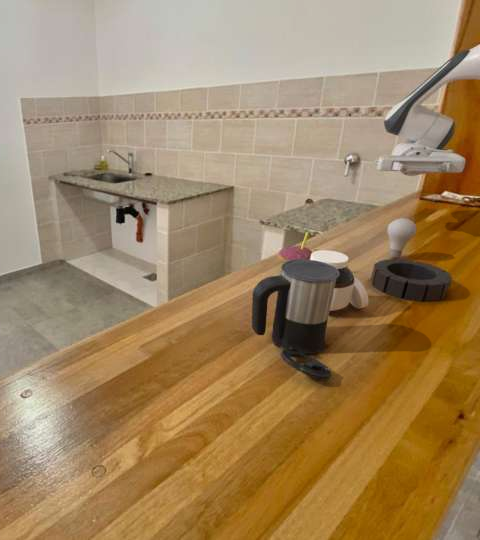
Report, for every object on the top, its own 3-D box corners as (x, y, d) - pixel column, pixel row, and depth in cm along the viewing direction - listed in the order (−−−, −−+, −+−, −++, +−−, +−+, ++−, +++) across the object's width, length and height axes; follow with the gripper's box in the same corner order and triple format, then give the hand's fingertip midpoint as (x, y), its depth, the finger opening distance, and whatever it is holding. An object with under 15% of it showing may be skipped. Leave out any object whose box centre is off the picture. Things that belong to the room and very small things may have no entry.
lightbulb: (385, 262, 101) (395, 222, 96) (377, 253, 106) (386, 215, 101) (412, 263, 99) (423, 222, 95) (402, 254, 104) (412, 215, 100)
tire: (436, 278, 91) (441, 263, 89) (453, 306, 79) (459, 288, 78) (368, 270, 96) (371, 256, 95) (374, 295, 85) (378, 279, 83)
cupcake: (313, 269, 99) (321, 225, 94) (310, 282, 92) (317, 236, 87) (278, 264, 103) (284, 221, 98) (272, 276, 97) (278, 231, 92)
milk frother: (298, 322, 77) (309, 254, 71) (371, 368, 63) (391, 289, 57) (240, 340, 73) (246, 270, 66) (304, 393, 59) (319, 311, 53)
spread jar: (288, 301, 85) (295, 252, 80) (322, 288, 89) (331, 241, 85) (338, 326, 75) (350, 272, 70) (374, 310, 80) (387, 258, 75)
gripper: (375, 149, 119) (381, 156, 107) (458, 149, 110) (474, 157, 99) (371, 170, 121) (376, 178, 110) (452, 171, 113) (466, 181, 102)
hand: (423, 168), depth 104 cm, fingers open, 8 cm apart
